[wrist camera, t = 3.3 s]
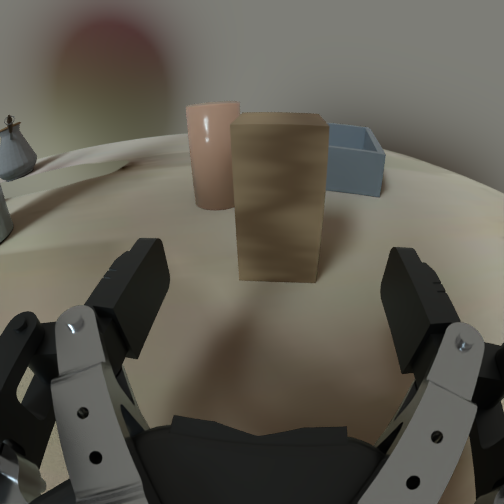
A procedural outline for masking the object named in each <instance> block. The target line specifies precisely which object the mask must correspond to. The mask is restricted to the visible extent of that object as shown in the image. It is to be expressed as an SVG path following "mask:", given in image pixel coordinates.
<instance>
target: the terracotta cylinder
mask: <svg viewBox="0 0 504 504" xmlns="http://www.w3.org/2000/svg"><path fill="white" fill-rule="evenodd" d="M186 115H187V126H188V137H189V148H190V157H191V167H192V176H193V185H194V193H195V201H196V205H197V206H198V207H200V208H202V209H206V210H224V209H229V208H233V207H235V206H234V189H233V172H232V154H231V135H230V124H231V123H232V122H233V121H234V120H235V119H236V118H237V117H239V116H240V102H237V101H219V102H207V103H199V104H193V105H189V106H186Z"/></svg>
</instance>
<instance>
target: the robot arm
mask: <svg viewBox="0 0 504 504" xmlns="http://www.w3.org/2000/svg"><path fill="white" fill-rule="evenodd" d="M12 228H13V222H12V220H11V217H10V214H9V211H8V208H7V205H6V202H5V199H4V195H3V192H2V188H1V185H0V242H1V241H2V240H4V239H5V238H6V237H7V236H8V234H9V233H10V232H11V230H12ZM169 284H170V274H169V269H168V265H167V261H166V256H165V252H164V247H163V243H162V241H161V239H159V238H139V239H138V240H137V242H136V243H135V244H134V246H133V247H132V248H131V250H130V251H126V252H125V253H124V254H122V255H121V256H120V257H118V258H117V259H116V260H115V261H114V262H113V264H112V265H111V267H110V268H109V271H107V272H106V274H105V275H104V278H102V279H101V281H100V282H99V284H98V285H97V286H96V288H95V289H94V291H93V292H92V294H91V295H90V297H89V298H88V300H87V301H86V303H85V304H84V305H78V306H74V307H71V308H69V309H67V310H66V311H65V312H63V313H62V314H61V315H60V317H59V318H58V319H57V322H49V323H40V322H39V320H38V318H37V317H36V315H35V314H34V313H33V312H29V311H27V312H22V313H20V314H18V315H16V316H15V317H14V318H13V319H12V320H11V321H10V322H9V323H8V325H7V326H6V328H5V330H4V331H3V333H2V334H1V336H0V504H437V503H438V501H439V500H440V498H441V496H442V494H443V492H444V490H445V488H446V486H447V484H448V482H449V480H450V478H451V476H452V474H453V472H454V470H455V467H456V465H457V463H458V461H459V458H460V456H461V453H462V451H463V449H464V446H465V443H466V441H467V438H468V435H469V437H470V443H471V450H472V457H473V466H474V476H475V488H476V501H475V503H474V504H504V412H503V408H502V404H501V400H502V399H503V398H504V343H503V344H502V345H501V346H499V345H495V344H490V343H485V342H484V340H483V338H482V336H481V334H480V333H479V332H478V331H477V330H476V329H475V328H474V327H472V326H471V325H469V324H466V323H462V322H461V321H460V319H459V317H458V315H457V313H456V310H455V308H454V306H453V304H452V302H451V300H450V299H449V297H448V295H447V293H445V289H444V287H443V285H442V284H441V281H440V280H439V278H438V276H437V274H436V272H435V271H434V270H433V269H432V268H431V267H429V266H428V265H427V264H426V263H422V262H421V260H420V258H419V257H418V255H417V253H416V251H415V250H414V249H413V248H403V247H393V248H392V249H391V251H390V254H389V258H388V261H387V265H386V268H385V272H384V275H383V279H382V282H381V290H380V293H381V300H382V303H383V307H384V310H385V313H386V317H387V320H388V323H389V327H390V330H391V334H392V338H393V341H394V345H395V349H396V353H397V357H398V361H399V365H400V369H401V373H402V374H407V373H414V376H415V380H414V381H413V382H412V384H411V386H410V388H409V390H408V392H407V394H406V396H405V397H404V399H403V401H402V403H401V405H400V406H399V408H398V410H397V412H396V413H395V415H394V417H393V419H392V420H391V422H390V424H389V425H388V427H387V428H386V430H385V431H384V432H383V434H382V435H381V436H380V437H379V439H378V440H377V441H376V443H375V444H374V446H372V445H371V444H369V443H366V442H364V441H362V440H359V439H355V438H352V437H347V426H346V427H315V428H300V429H295V430H291V431H286V432H280V433H275V434H269V435H263V436H256V435H252V434H249V433H246V432H243V431H240V430H237V429H234V428H231V427H228V426H225V425H223V424H220V423H217V422H215V421H207V420H200V419H194V418H188V417H182V416H176V415H174V417H173V420H172V424H171V425H165V426H159V427H155V428H151V429H150V427H149V426H148V424H147V422H146V420H145V419H144V417H143V415H142V413H141V411H140V409H139V406H138V404H137V401H136V399H135V396H134V393H133V391H132V388H131V385H130V382H129V380H128V377H127V374H126V371H125V368H124V366H123V361H124V359H125V357H128V358H133V359H138V357H139V355H140V352H141V350H142V348H143V345H144V343H145V341H146V338H147V336H148V334H149V331H150V329H151V327H152V324H153V322H154V320H155V318H156V315H157V313H158V311H159V309H160V307H161V304H162V302H163V300H164V298H165V296H166V293H167V291H168V289H169ZM27 367H29V368H30V369H31V370H32V371H33V373H34V374H35V375H34V377H33V379H32V381H31V383H30V385H29V387H28V389H27V392H26V394H25V396H24V398H23V400H22V403H20V402H19V401H18V399H17V395H16V391H17V387H18V385H19V383H20V381H21V379H22V377H23V375H24V373H25V371H26V369H27ZM55 421H56V423H57V429H58V434H59V438H60V443H61V447H62V451H63V455H64V459H65V463H66V467H67V470H68V474H69V477H70V478H69V479H68V480H66V481H64V482H63V483H61V484H59V485H58V486H56V487H54V488H53V489H51V490H49V491H48V492H46V493H44V494H42V495H41V493H43V492H44V491H45V490H46V482H45V481H44V479H42V478H41V475H40V471H39V469H40V466H41V462H42V459H43V456H44V453H45V450H46V447H47V444H48V441H49V438H50V435H51V432H52V429H53V427H54V424H55Z"/></svg>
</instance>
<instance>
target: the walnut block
mask: <svg viewBox="0 0 504 504" xmlns="http://www.w3.org/2000/svg"><path fill="white" fill-rule="evenodd" d="M329 127H330V126H329V125H328V124H327V123H326V122H325V121H324V120H323V119H322V117H321V116H320V115H319V114H311V113H282V112H252V113H251V112H249V113H248V112H247V113H242V114H241V115H240V116H239V117H237V118H236V119H235V120H234V121H233V122H232V123H231V124H230V135H231V154H232V172H233V189H234V206H235V222H236V237H237V252H238V267H239V280H244V281H269V282H298V283H316V276H317V268H318V260H319V251H320V242H321V233H322V224H323V213H324V202H325V191H326V178H327V164H328V147H329Z"/></svg>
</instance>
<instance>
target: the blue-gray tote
mask: <svg viewBox="0 0 504 504" xmlns="http://www.w3.org/2000/svg"><path fill="white" fill-rule="evenodd" d="M327 124H328V125H329V126H330V127H329V147H328V164H327V178H326V190H330V191H338V192H346V193H353V194H361V195H368V196H375V197H380V191H381V185H382V178H383V171H384V163H385V156H386V155H385V153H384V151H383V149H382V148H381V146H380V144H379V143H378V141H377V139H376V138H375V136H374V134H373V133H372V131H371V129H370V128H367V127H360V126H352V125H343V124H334V123H327Z"/></svg>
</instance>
